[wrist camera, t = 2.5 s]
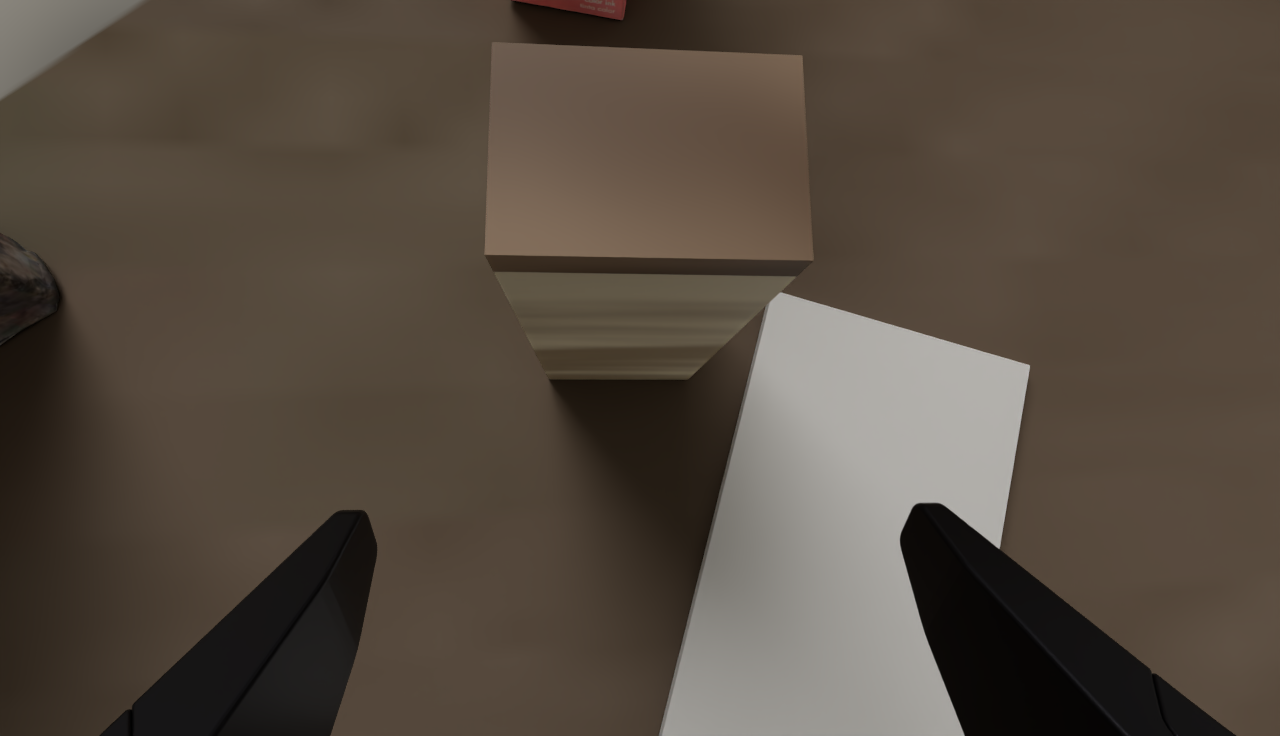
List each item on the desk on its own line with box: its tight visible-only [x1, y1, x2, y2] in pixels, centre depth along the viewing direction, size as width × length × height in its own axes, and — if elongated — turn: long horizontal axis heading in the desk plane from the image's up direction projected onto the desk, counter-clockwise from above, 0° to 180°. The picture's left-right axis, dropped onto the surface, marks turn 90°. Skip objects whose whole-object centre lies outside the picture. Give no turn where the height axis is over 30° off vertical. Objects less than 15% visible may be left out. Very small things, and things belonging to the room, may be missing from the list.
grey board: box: [659, 292, 1030, 736], centre depth 21 cm, size 16×10×1 cm, turn 164°
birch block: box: [485, 42, 814, 380], centre depth 16 cm, size 4×5×13 cm
